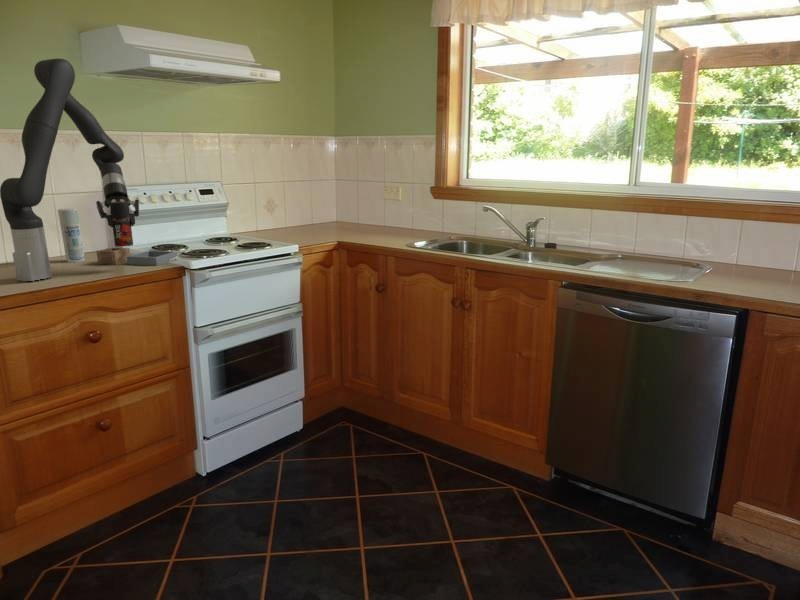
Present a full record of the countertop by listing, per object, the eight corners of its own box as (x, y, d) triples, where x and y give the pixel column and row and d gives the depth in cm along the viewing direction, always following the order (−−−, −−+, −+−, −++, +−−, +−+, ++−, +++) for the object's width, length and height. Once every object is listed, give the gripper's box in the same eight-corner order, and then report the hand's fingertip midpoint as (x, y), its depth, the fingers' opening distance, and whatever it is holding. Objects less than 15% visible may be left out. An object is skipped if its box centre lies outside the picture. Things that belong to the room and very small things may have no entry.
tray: (156, 265, 216) (155, 257, 216) (127, 264, 220) (126, 256, 219) (177, 259, 228) (176, 251, 227) (149, 258, 231) (148, 250, 231)
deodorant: (113, 246, 204) (108, 203, 200) (116, 244, 209) (111, 201, 206) (132, 246, 205) (127, 202, 202) (134, 243, 211) (129, 201, 207)
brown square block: (116, 264, 219) (114, 251, 218) (98, 264, 221) (96, 250, 220) (130, 260, 226) (129, 247, 225) (113, 260, 228) (111, 247, 227)
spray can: (81, 258, 233) (73, 207, 228) (88, 260, 229) (80, 208, 223) (63, 261, 228) (54, 209, 223) (70, 263, 224) (61, 210, 219)
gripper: (91, 182, 205) (98, 219, 198) (136, 180, 212) (144, 217, 205) (92, 196, 210) (99, 233, 203) (136, 195, 217) (144, 230, 210)
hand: (122, 225), depth 204 cm, fingers closed on deodorant, 6 cm apart
